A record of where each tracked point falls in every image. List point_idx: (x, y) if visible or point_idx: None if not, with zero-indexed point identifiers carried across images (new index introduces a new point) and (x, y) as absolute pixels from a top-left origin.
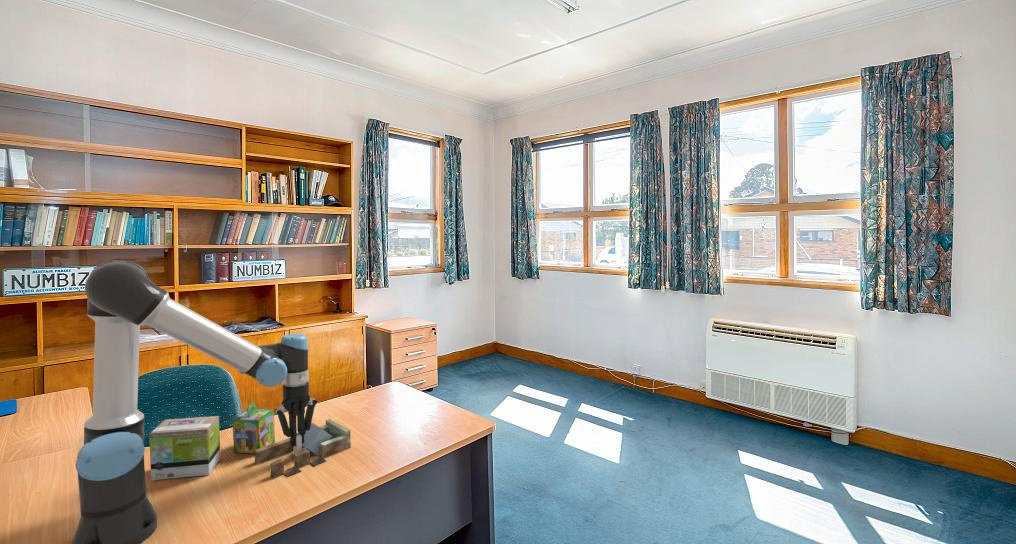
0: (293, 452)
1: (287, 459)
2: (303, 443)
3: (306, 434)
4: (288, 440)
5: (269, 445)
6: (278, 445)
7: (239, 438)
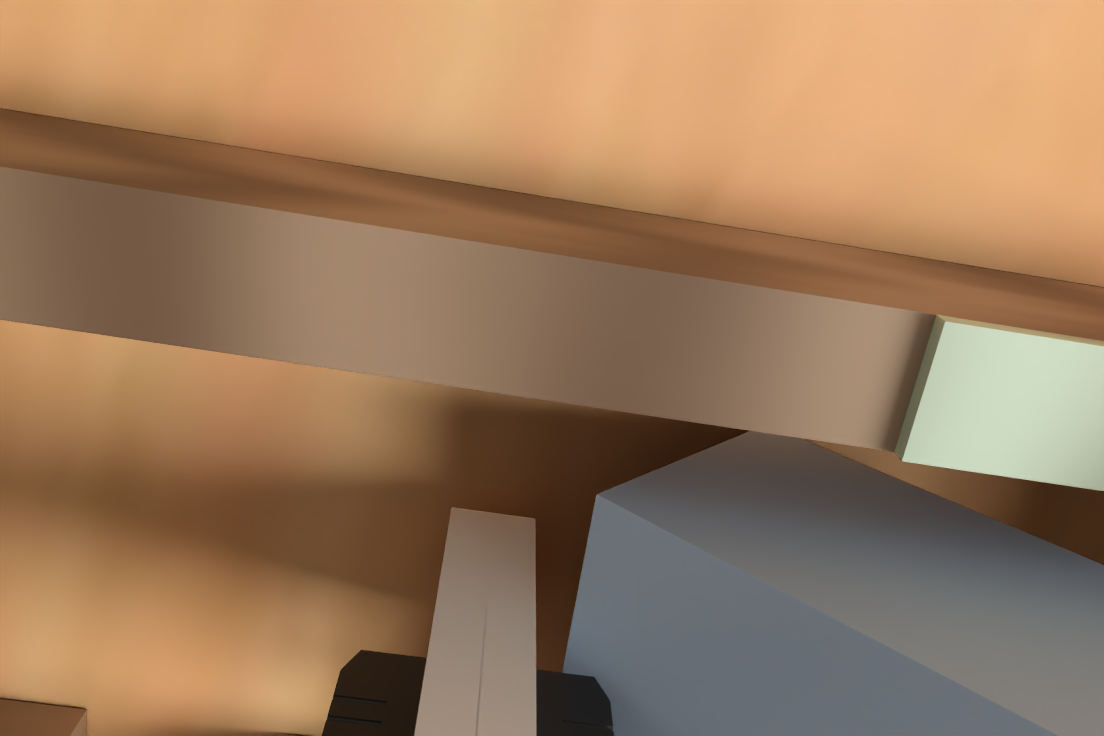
0: (450, 521)
1: (343, 478)
2: None
3: (763, 719)
4: (495, 354)
5: (72, 204)
6: (239, 345)
7: None
